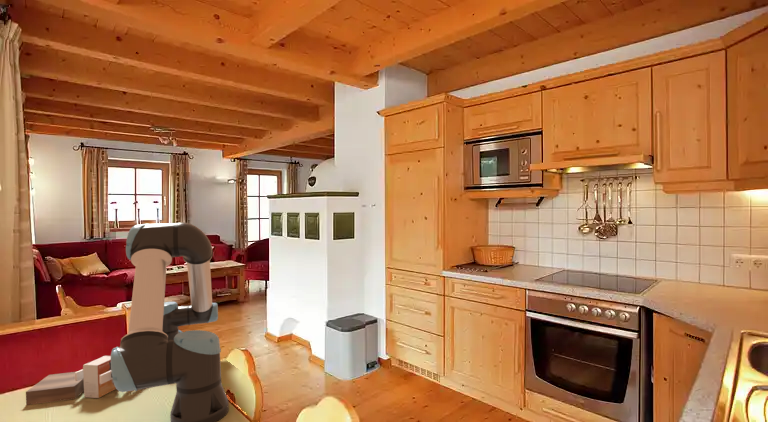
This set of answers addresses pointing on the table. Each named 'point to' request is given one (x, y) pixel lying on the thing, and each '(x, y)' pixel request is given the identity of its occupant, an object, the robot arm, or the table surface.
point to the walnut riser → (55, 389)
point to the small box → (97, 378)
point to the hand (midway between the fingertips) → (87, 378)
